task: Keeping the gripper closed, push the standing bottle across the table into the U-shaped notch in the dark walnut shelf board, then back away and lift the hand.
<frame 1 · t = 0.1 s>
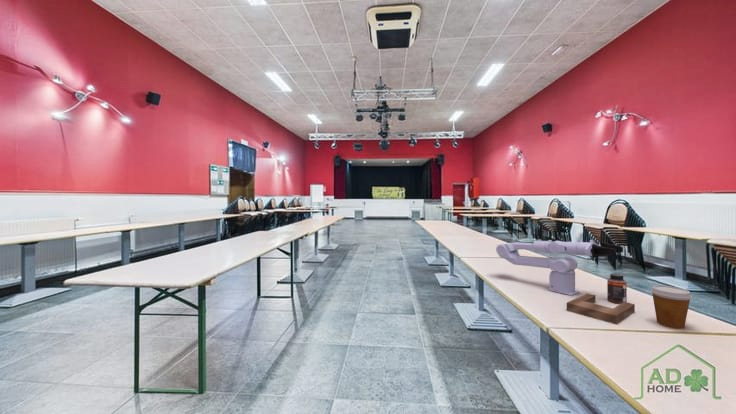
hand: (619, 250, 112), 22 cm above the table, tool horizontal, fingers open, 7 cm apart
disposable coffee cup: (670, 325, 94), on the table
shelf board: (597, 312, 105), on the table
supplement bottle: (616, 302, 115), on the table
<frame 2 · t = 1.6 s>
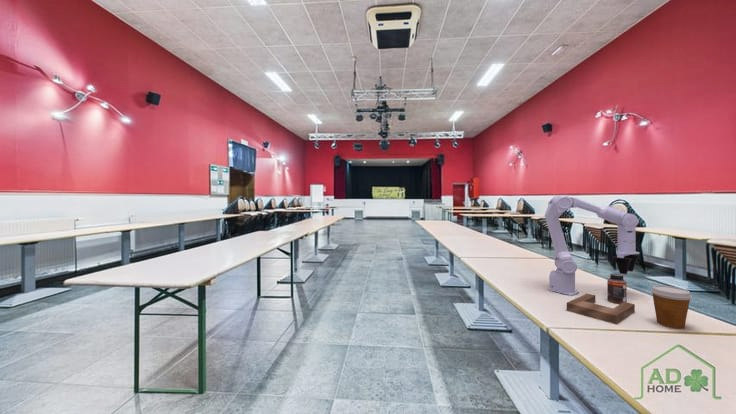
hand: (626, 272, 121), 10 cm above the table, tool pointing down, fingers open, 7 cm apart
nothing on the table moved.
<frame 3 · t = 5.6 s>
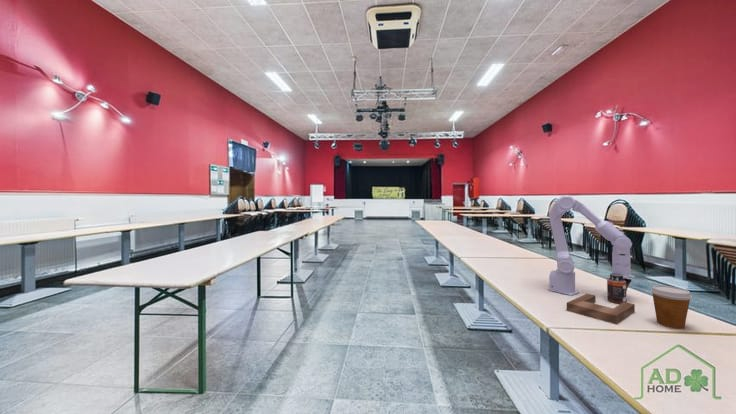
hand: (621, 295, 118), 1 cm above the table, tool pointing down, fingers closed
supplement bottle: (616, 301, 115), on the table, touching gripper
everything else where it was.
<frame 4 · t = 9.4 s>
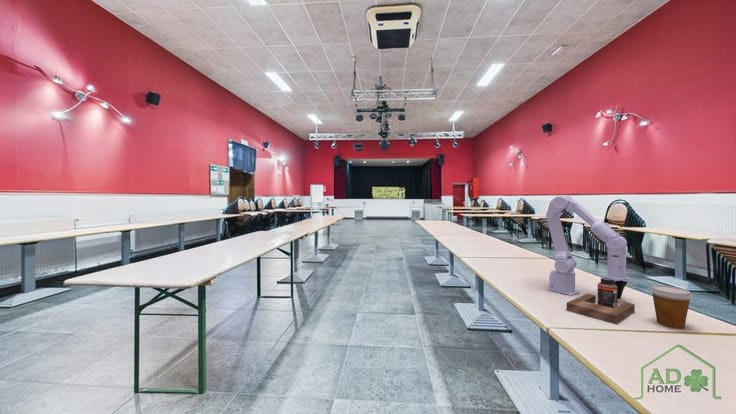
hand: (616, 298, 115), 1 cm above the table, tool pointing down, fingers closed
supplement bottle: (607, 307, 110), on the table
everything else where it was.
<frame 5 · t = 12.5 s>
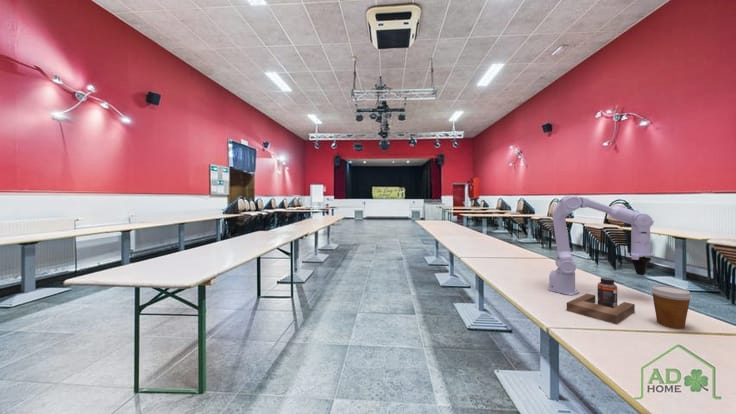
hand: (640, 274, 117), 10 cm above the table, tool pointing down, fingers closed
nothing on the table moved.
at the end: supplement bottle inside the target area on the shelf board (2.9 cm from its centre), point 0.0 cm above the shelf board's base; supplement bottle tilted 0°; supplement bottle moved 9.9 cm from its start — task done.
